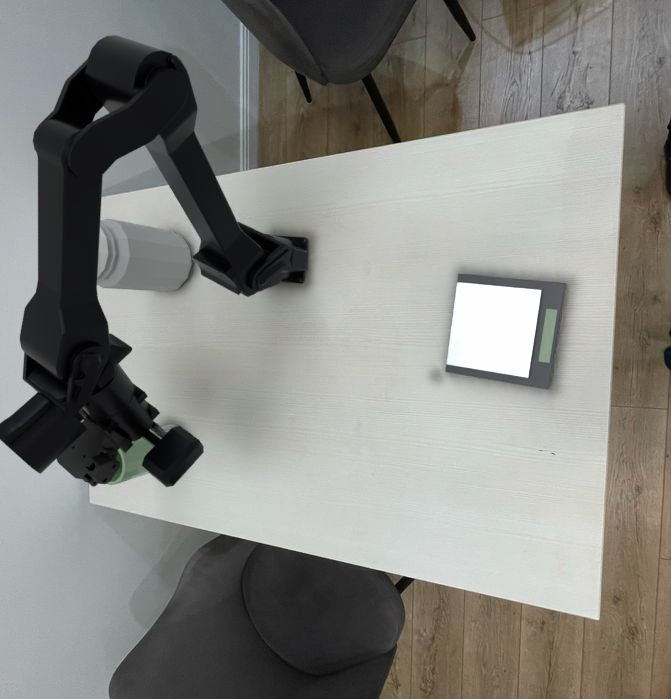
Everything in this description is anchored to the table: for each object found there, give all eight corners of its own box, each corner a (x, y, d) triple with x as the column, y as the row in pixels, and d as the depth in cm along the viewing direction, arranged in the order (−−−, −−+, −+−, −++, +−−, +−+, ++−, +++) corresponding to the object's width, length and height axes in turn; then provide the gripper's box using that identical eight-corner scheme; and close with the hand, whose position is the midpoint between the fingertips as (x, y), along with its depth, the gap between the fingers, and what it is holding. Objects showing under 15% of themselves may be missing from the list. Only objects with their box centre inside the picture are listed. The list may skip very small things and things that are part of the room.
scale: (449, 370, 68) (443, 372, 65) (461, 274, 66) (456, 273, 64) (550, 387, 62) (547, 390, 60) (566, 283, 61) (564, 282, 59)
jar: (153, 229, 89) (53, 210, 73) (198, 233, 85) (102, 214, 69) (148, 288, 91) (49, 282, 75) (193, 295, 86) (97, 290, 70)
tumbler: (157, 458, 92) (92, 478, 80) (160, 420, 91) (94, 435, 80) (186, 467, 89) (123, 490, 77) (189, 428, 88) (126, 445, 77)
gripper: (-1, 407, 60) (67, 462, 73) (106, 500, 53) (160, 543, 66) (78, 339, 65) (128, 402, 78) (186, 416, 58) (222, 472, 71)
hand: (156, 453), depth 73 cm, fingers open, 9 cm apart
